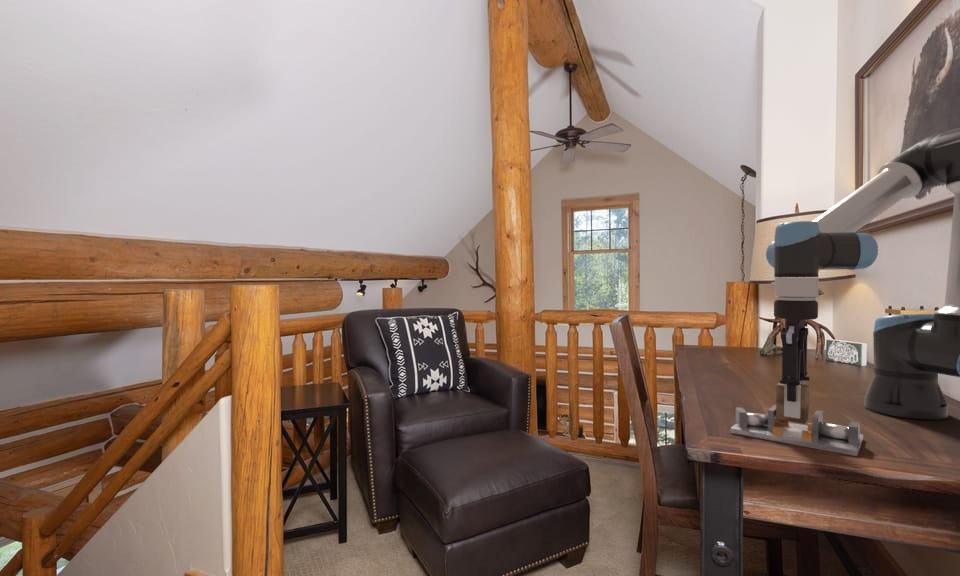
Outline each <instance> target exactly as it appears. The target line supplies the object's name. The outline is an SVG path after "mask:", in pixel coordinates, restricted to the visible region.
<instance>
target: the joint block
mask: <svg viewBox="0 0 960 576" xmlns="http://www.w3.org/2000/svg"><path fill="white" fill-rule="evenodd" d="M799 385H801V418H800V419H798V418H792V417H786V416H784V384H780V382H778V383H777V384H776V399H775V400H776V401H775V403H776V419H780V420H785V421H789V422H790V423H796V424H801V425H806V423H808V422H807V421H809V408H810V405H809V404H810V385H809V384H805V385H804V384H799Z"/></svg>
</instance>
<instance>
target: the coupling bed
mask: <svg viewBox="0 0 960 576" xmlns="http://www.w3.org/2000/svg"><path fill="white" fill-rule="evenodd" d="M767 414H768V427H761V426H747V428H740V427H739V426H738V425H737V423H736V422H735V424H733V426H731V427H730V434H735V435H738V436H739V435H740V436H746V437H749V438H755V439H762V440H766V441H767V440H768V441H771V442H772V441H773V442H777V443H783V444H788V445H794V446H800V447H805V448H810V449H816V450H821V451H827V452H831V453H837V454H843V455H847V456H848V455H849V456H853V457H858V455H859V451H860V449H861V446H862V444H863V442H864V434H863V433H861V423H860V422H858V421H857V422H856V421H850V423H849V424H848V425H847V426H846V425H841V424H834V423H829V422H824V421H823V420H824V411H823V410H816V411H815V412H814V413H813V415H812V416H811V423H810V422H807V424H802V423H796V422H790V421H785V420H780V419H776V404H773V405H772V406H771V407H770V408H769V409H768V410H767Z"/></svg>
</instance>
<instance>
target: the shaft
mask: <svg viewBox="0 0 960 576" xmlns="http://www.w3.org/2000/svg"><path fill="white" fill-rule="evenodd" d="M736 423H737V425H738V426H739V427H740V428H747V426H761V427H768V413H755V412H747V411H746V410H745V408H744V407H737V406H736V407H735V424H736Z"/></svg>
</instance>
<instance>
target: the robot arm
mask: <svg viewBox="0 0 960 576" xmlns="http://www.w3.org/2000/svg"><path fill="white" fill-rule="evenodd" d="M944 185H945V189H947V190H948V191H950V192H951V193H952V194H953V196H954V197H953V198H954V199H953V209H952V220H951V221H952V222H951V231H950V243H949V252H948V264H947V266H948V267H947V274H946V285H945V286H946V288H945V295H944V305H943V306H942V307H940V308H939V309H937V310H935V311H934V313H918V314H917V313H915V314H913V313H912V314H894V315H891V314H890V315H881V316H879V317H877V318H876V319H875V321H874V327H873V328H874V329H873V334H872V335H873V336H872V338H873V377H872V380H871V381H870V385H869V386H868V389H867V391H866V394H865V397H864V407H865V408H866V409H867V410H869V411H872V412H876V413H880V414H884V415H887V416H893V417H898V418H899V417H900V418H905V419H917V420H943V419H947V418H948V417H949V405H948V404H947V401H946V398H945V396H944V394H943V391H942V389H941V386H940V384H939V374H940V375H943V376H950V377H956V378H960V127H958V128H957V127H956V128H953V129H949V130H946V131H943V132H942V131H941V132H938V133H935V134H933V135H930V136H928V137H926V138H923V139H922V140H920V141H918V142H917V143H914V145H912V146H910V147H909V148H907V149H905V150H904V151H903V152H901V153H899V154H897V156H895V157H894V158H892V159H891V160H889V161H888V162H887V163H885V164H884V165H882V166H881V167H880V168H879V170H878V172H877V175H875V176H874V177H873V178H871V179H870V180H869V181H867V182H866V183H864V184H863V185H861V186H860V187H858V188H857V189H856V190H854V191H853V192H852V193H849V195H848V196H846V197H845V198H843V199H841V200H840V201H838V202H837V203H836V204H834V205H833V206H831V207H830V208H828V209H827V210H826V211H824V212H823V213H821V214H820V215H819V216H818V217H816V218H814V219H813V220H812V221H811V220H805V221H804V220H799V221H787V222H781V223H780V224H778V225H776V227H775V230H774V238H773V239H774V240H773V241H772V242H770V243H769V245H768V246H767V248H766V252H765V253H766V254H765V256H766V260H767V261H766V262H768V264H769V266H770V267H772V268H773V269H774V273H773V274H774V282H771V284H770V286H771V287H772V288H774V292H773V294H774V295H773V296H774V297H776V298H777V299H775V300H774V301H773V316H774V318H776V319H782V320H785V327H782V329H781V331H782V332H781V335H780V337H781V347H782V349H781V355H782V356H781V357H782V358H781V361H782V362H781V363H782V365H781V368H782V369H781V371H782V375H781V380H779V383H780V384H784V416H786V417H792V418H798V419H800V418H801V385H799V384H804V385H806V382H809V381H810V376H807V375H808V372H807V370H808V369H807V368H808V336H809V328H808V327H806V322H805V321H811V320H812V321H813V320H817V319H818V317H819V302H818V301H817V300H816V298H819V294H820V291H819V290H820V289H819V287H820V285H819V284H820V283H819V282H820V281H819V279H820V278H819V271H822V270H823V271H824V270H825V271H828V270H829V271H830V270H834V271H836V270H849V271H854V270H863V269H867V268H869V267H870V266H872V265H873V264H874V262H876V260H877V257H878V255H879V254H878V253H879V252H878V251H879V249H878V248H879V246H878V242H877V240H876V239H875V237H874V236H872V235H870V234H868V233H865V232H858V231H859V230H861V228H863V227H864V226H866V225H867V224H869V223H870V222H871V221H873V220H874V219H876V218H878V217H879V216H880V215H882V214H883V213H884V212H886V211H887V210H888V209H889V208H892V207H893V206H895V205H896V204H897V203H899V202H900V201H901V200H903V199H911V198H914V197H915V196H917V195H918V194H920V193H922V192H923V191H924V190H928V189H930V188H934V187H938V186H944Z"/></svg>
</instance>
